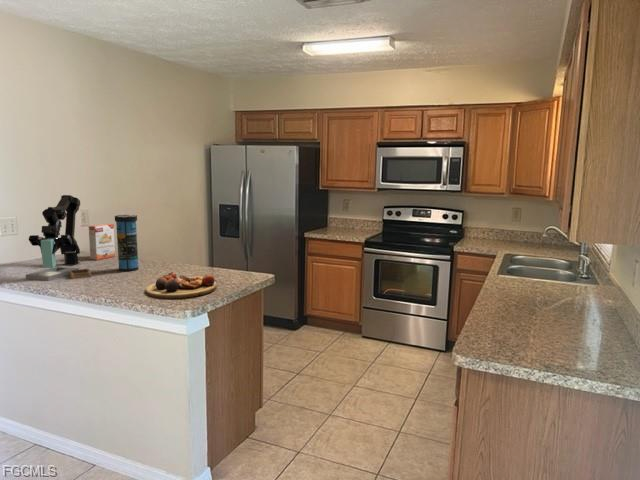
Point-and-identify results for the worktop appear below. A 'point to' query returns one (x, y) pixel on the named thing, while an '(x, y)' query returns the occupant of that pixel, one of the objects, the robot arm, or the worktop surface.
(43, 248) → the post
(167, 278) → the wooden plate with food
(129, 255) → the advertising column
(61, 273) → the board
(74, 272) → the cubby
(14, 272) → the worktop surface
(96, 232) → the cracker box
